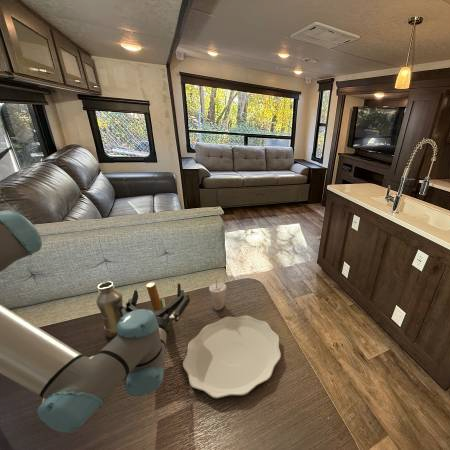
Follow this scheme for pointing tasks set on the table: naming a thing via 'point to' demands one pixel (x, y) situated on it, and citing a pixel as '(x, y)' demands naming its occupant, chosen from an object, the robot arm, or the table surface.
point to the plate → (232, 356)
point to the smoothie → (218, 294)
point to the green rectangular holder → (162, 308)
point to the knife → (154, 296)
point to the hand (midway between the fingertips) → (158, 289)
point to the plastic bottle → (109, 307)
